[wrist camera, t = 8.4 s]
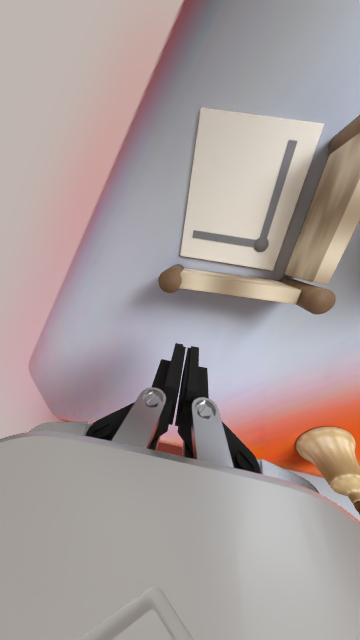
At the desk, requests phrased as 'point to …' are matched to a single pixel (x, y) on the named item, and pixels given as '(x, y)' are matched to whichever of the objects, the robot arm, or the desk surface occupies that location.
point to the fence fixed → (328, 222)
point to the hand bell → (333, 459)
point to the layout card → (245, 185)
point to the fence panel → (227, 284)
